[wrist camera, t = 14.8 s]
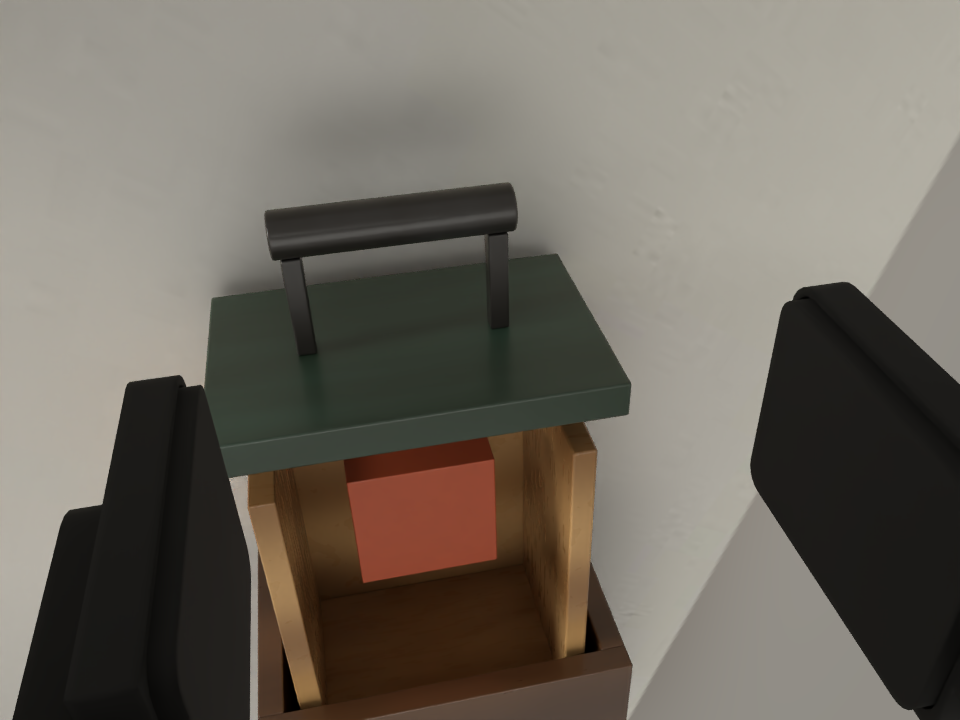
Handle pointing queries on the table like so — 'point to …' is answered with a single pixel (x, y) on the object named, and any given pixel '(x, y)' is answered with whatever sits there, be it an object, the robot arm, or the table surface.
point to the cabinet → (469, 681)
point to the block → (423, 508)
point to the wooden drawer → (414, 438)
